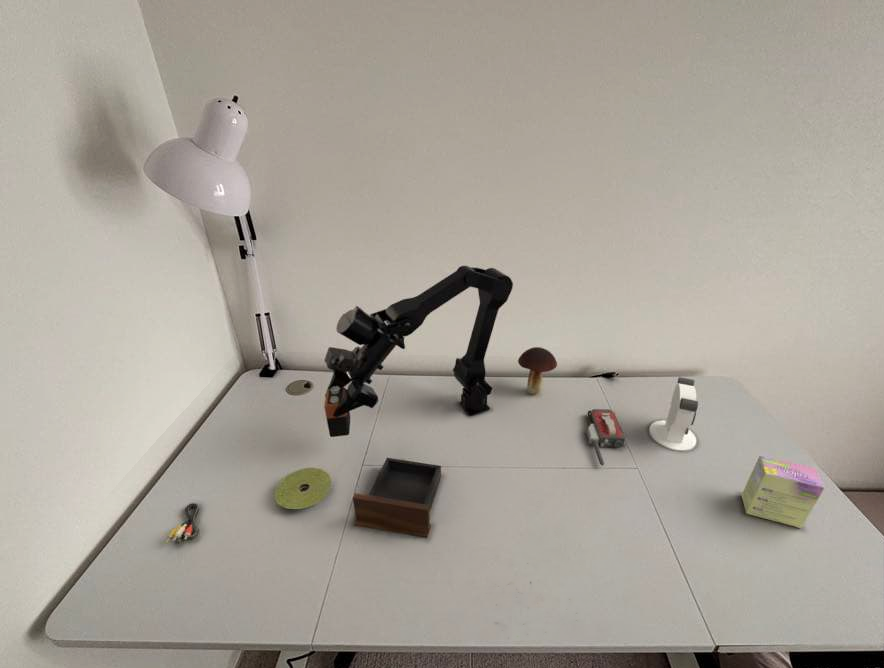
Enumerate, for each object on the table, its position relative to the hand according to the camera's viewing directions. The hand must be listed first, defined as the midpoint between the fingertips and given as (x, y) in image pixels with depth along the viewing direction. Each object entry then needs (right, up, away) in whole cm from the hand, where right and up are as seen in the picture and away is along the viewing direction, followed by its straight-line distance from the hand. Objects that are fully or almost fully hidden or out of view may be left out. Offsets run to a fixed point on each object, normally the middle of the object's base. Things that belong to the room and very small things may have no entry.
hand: (330, 406), depth 99 cm
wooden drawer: (+17, -19, -6) cm, 26 cm away
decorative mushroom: (+50, -1, +30) cm, 58 cm away
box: (+96, -22, -5) cm, 98 cm away
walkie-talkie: (+66, -11, +13) cm, 68 cm away
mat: (-4, -18, -5) cm, 19 cm away
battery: (+1, -6, +4) cm, 7 cm away
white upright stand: (+84, -10, +15) cm, 86 cm away
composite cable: (-23, -22, -13) cm, 34 cm away
